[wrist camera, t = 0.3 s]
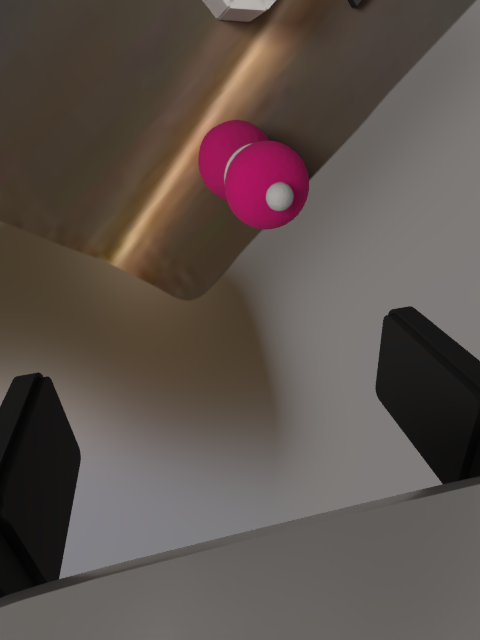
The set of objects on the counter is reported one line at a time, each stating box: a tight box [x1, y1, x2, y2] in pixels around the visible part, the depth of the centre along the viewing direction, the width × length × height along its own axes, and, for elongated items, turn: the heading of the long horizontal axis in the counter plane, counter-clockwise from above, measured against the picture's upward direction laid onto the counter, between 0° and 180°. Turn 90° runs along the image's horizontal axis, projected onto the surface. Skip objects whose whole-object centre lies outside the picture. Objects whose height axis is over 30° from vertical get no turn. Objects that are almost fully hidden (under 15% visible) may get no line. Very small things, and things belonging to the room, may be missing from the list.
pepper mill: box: [199, 120, 309, 229], centre depth 34 cm, size 7×7×20 cm
